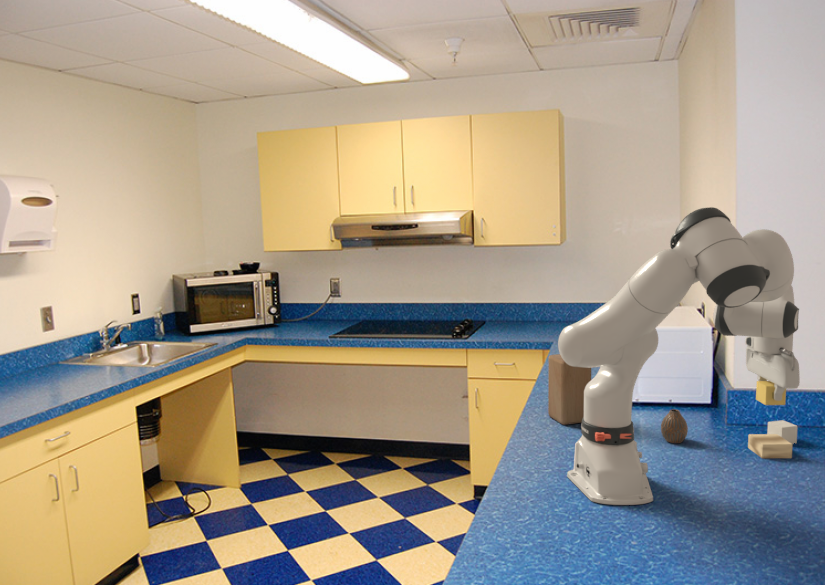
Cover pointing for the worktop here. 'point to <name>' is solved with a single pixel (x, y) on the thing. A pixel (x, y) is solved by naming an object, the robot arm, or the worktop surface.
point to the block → (566, 390)
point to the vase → (674, 427)
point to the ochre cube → (768, 393)
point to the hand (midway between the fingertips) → (770, 396)
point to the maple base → (770, 446)
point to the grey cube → (783, 430)
